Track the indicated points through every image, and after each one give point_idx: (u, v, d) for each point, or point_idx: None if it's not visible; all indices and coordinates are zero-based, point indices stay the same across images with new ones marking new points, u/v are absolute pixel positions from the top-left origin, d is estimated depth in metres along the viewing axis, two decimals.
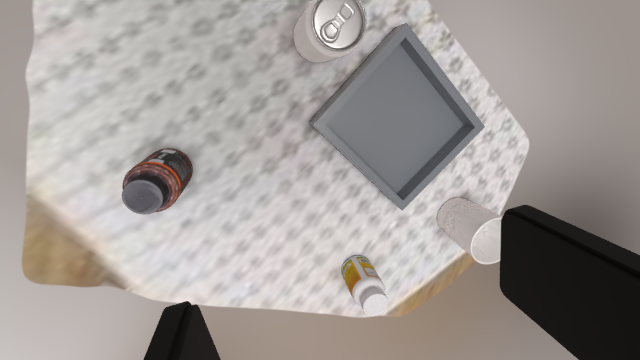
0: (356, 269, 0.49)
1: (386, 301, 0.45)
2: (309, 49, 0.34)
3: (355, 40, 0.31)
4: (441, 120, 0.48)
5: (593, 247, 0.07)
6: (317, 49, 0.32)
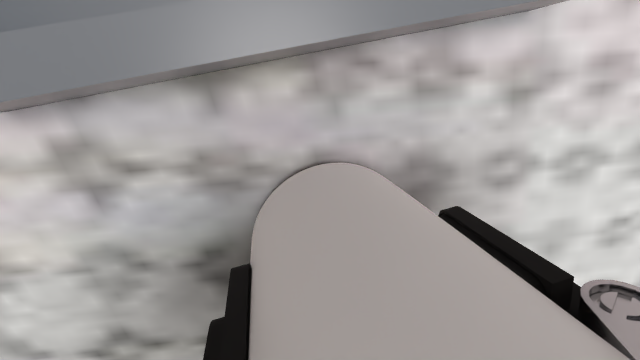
0: None
1: None
2: None
3: None
4: None
5: (498, 245, 0.07)
6: None
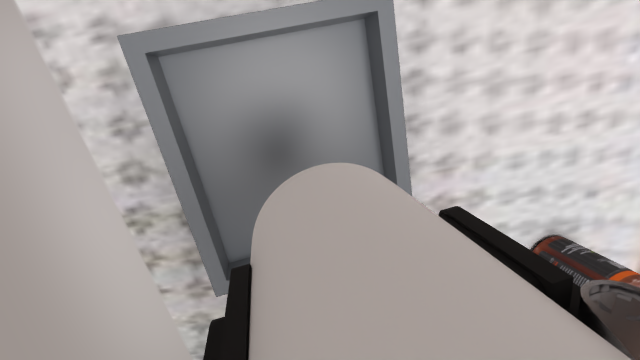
0: None
1: None
2: None
3: None
4: (205, 100, 0.23)
5: (498, 245, 0.07)
6: None
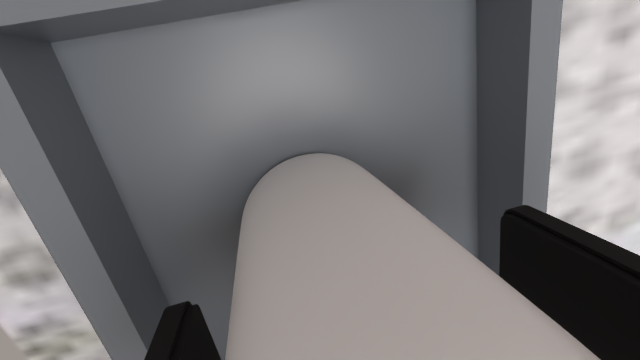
0: None
1: None
2: None
3: None
4: (159, 132, 0.11)
5: (592, 247, 0.07)
6: None
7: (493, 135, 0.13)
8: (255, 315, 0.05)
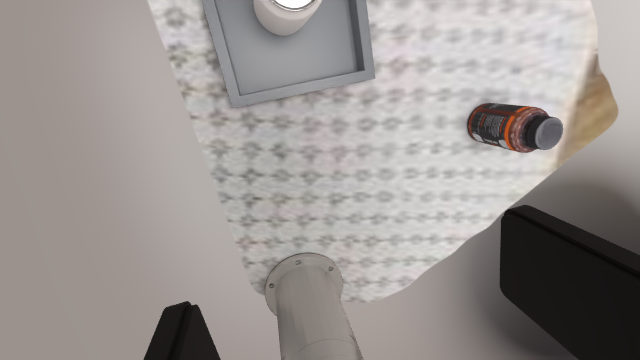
0: None
1: None
2: None
3: None
4: None
5: (593, 247, 0.07)
6: None
7: None
8: None
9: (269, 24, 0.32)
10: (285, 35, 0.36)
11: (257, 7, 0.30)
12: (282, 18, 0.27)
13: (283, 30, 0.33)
